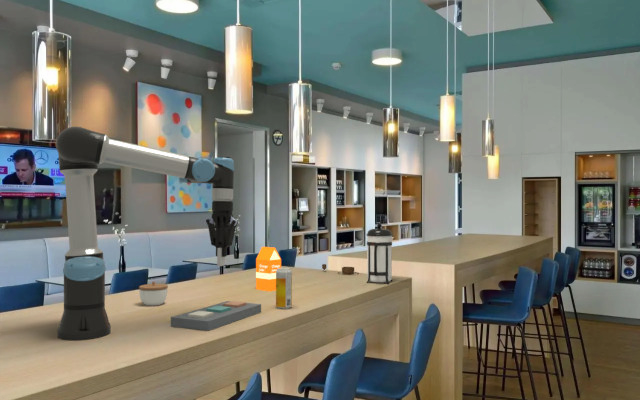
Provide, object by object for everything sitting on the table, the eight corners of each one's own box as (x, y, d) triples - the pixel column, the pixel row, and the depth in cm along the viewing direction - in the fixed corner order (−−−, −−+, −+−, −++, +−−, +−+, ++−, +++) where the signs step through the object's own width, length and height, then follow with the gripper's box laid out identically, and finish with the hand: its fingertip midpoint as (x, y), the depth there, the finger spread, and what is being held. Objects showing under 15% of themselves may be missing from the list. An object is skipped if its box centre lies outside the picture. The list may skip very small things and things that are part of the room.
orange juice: (267, 288, 256) (267, 246, 256) (281, 290, 250) (281, 247, 250) (255, 290, 250) (255, 247, 250) (269, 292, 244) (269, 248, 244)
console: (208, 330, 172) (208, 321, 172) (170, 326, 178) (170, 317, 178) (261, 312, 201) (261, 304, 201) (227, 308, 207) (227, 301, 207)
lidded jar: (138, 308, 208) (138, 284, 208) (139, 303, 218) (139, 280, 218) (167, 307, 210) (167, 283, 211) (167, 302, 221) (167, 279, 221)
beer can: (283, 305, 213) (283, 267, 213) (295, 307, 209) (295, 268, 210) (272, 308, 209) (272, 268, 209) (284, 310, 205) (284, 270, 205)
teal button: (220, 319, 185) (220, 310, 185) (206, 317, 188) (206, 308, 188) (230, 315, 191) (230, 307, 191) (216, 314, 193) (216, 305, 193)
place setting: (342, 278, 294) (342, 267, 294) (320, 274, 310) (320, 264, 310) (366, 276, 304) (366, 265, 304) (343, 272, 320) (343, 262, 320)
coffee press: (357, 282, 274) (357, 223, 274) (384, 280, 281) (384, 222, 281) (374, 287, 259) (374, 224, 259) (403, 285, 265) (403, 223, 266)
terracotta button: (237, 313, 194) (237, 305, 194) (223, 312, 197) (223, 303, 197) (246, 310, 200) (246, 302, 200) (232, 309, 202) (232, 301, 202)
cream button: (202, 325, 176) (202, 315, 176) (187, 323, 179) (187, 314, 179) (213, 321, 182) (213, 312, 182) (199, 319, 184) (199, 310, 184)
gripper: (243, 201, 198) (241, 266, 198) (214, 200, 204) (212, 263, 204) (231, 200, 192) (230, 267, 191) (201, 200, 197) (199, 265, 197)
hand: (220, 265), depth 197 cm, fingers closed
